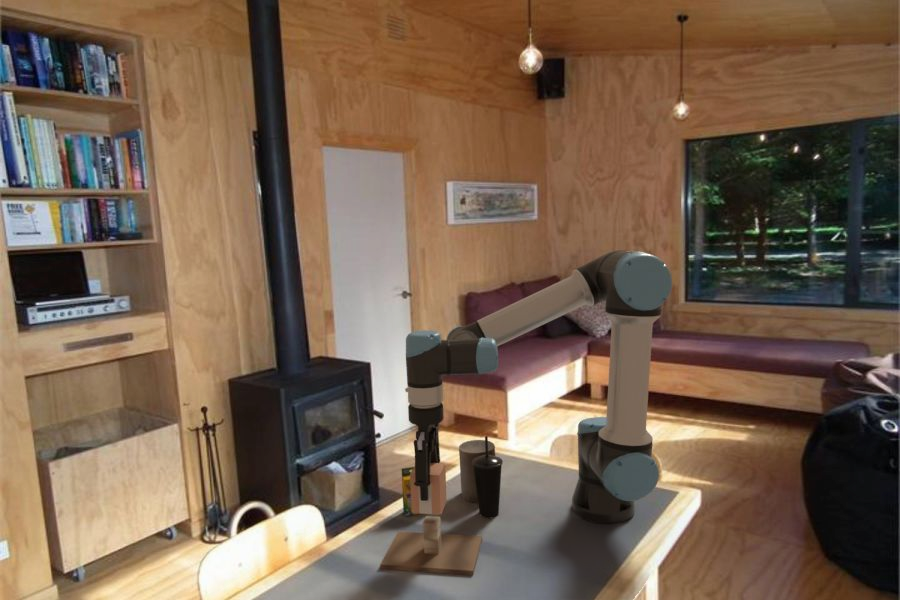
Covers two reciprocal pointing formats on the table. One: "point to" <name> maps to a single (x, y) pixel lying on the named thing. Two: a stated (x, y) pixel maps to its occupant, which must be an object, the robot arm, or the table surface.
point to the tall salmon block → (437, 488)
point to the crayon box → (407, 491)
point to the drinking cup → (487, 482)
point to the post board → (442, 563)
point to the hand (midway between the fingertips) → (429, 505)
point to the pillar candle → (471, 466)
